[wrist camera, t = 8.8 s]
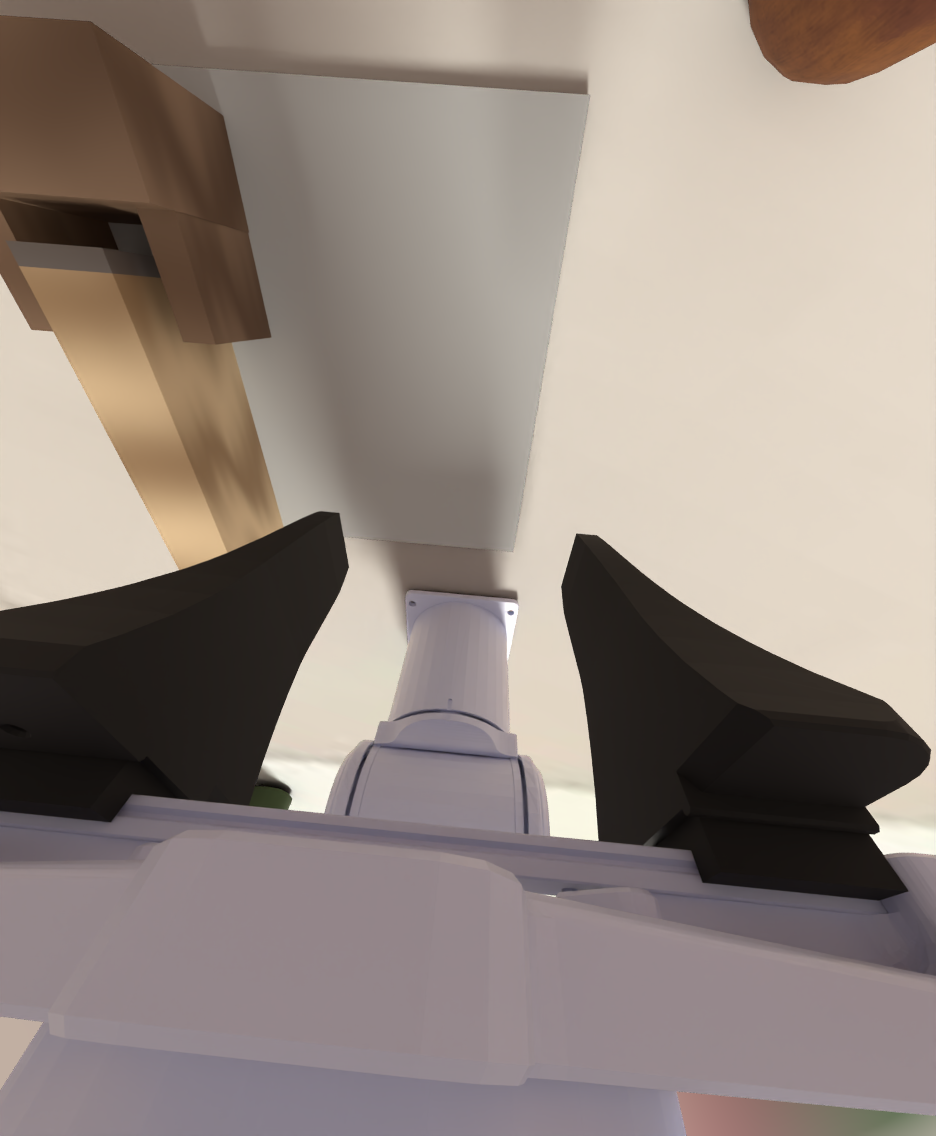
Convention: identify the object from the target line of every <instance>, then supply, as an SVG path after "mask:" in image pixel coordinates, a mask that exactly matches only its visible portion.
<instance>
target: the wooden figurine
mask: <svg viewBox="0 0 936 1136" xmlns="http://www.w3.org/2000/svg"><path fill="white" fill-rule="evenodd" d="M748 3H749V14H750V24H751V28H752V31H753V33H754V35H755V38H756V40H757V42H758V44H759V47H760V49H761V51H762V54H763V56H764V58H766V59H767V60H768V61H769V62H770V63H771V64H772V65H773V66H774V67H775V68H776V69H777V70H778V71H779V72H780V73H781V74H782V75H783V76H784V77H786V78H788V79H790V80H791V81H797V82H806V83H814V84H823V85H830V84H847V83H850V82H853V81H855V80H858V79H861V78H864V77H866V76H869V75H872V74H875V73H878V72H880V71H882V70H884V69H886V68H888V67H890V66H892V65H893V64H895V63H897V62H899V61H901V60H903V59H905V58H907V57H909V56H911V55H913V54H915V53H917V52H919V51H921V50H923V49H924V48H926V47H928V46H930V45H932V44H934V43H936V0H748Z"/></svg>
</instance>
